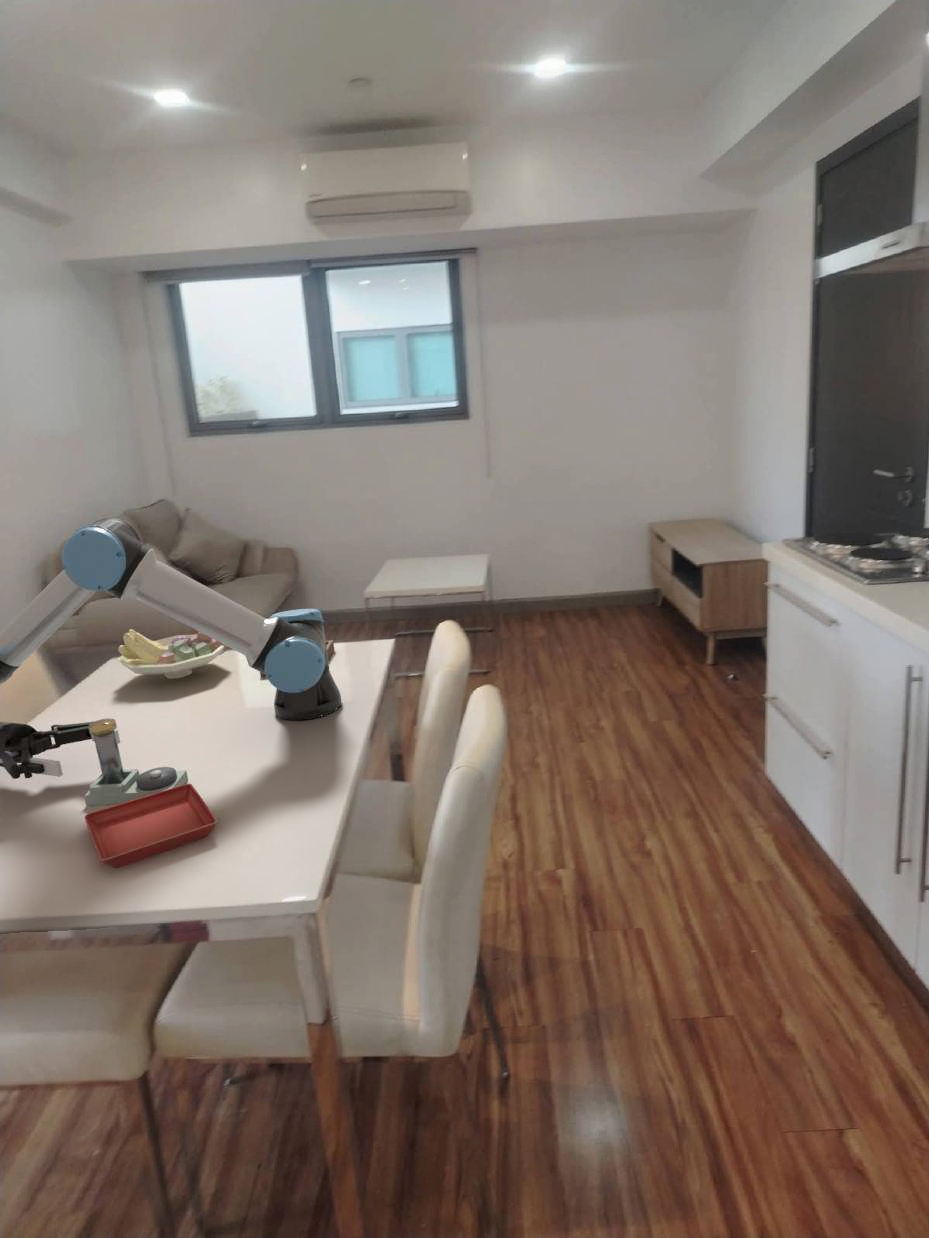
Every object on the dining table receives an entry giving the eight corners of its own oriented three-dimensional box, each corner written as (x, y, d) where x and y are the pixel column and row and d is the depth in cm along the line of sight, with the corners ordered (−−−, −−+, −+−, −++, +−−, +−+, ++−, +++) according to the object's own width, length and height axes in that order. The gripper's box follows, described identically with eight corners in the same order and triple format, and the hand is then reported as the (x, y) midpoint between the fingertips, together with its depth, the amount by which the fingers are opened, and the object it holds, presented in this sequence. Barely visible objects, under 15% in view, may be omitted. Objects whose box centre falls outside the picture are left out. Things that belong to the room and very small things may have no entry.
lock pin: (132, 777, 150) (119, 717, 146) (121, 789, 145) (108, 727, 142) (109, 778, 150) (95, 719, 147) (97, 790, 146) (83, 729, 142)
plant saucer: (193, 797, 145) (190, 780, 144) (222, 838, 130) (218, 820, 129) (87, 831, 136) (83, 814, 135) (104, 880, 121) (100, 861, 120)
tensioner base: (188, 779, 151) (184, 761, 150) (172, 800, 144) (168, 781, 143) (106, 784, 152) (102, 766, 151) (86, 805, 145) (81, 786, 144)
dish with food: (102, 678, 212) (93, 628, 208) (195, 649, 232) (189, 603, 228) (156, 704, 195) (148, 650, 191) (252, 670, 215) (246, 621, 211)
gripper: (65, 733, 167) (142, 742, 159) (-46, 789, 145) (37, 803, 137) (57, 700, 165) (135, 707, 157) (-57, 752, 143) (27, 763, 135)
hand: (89, 752), depth 147 cm, fingers open, 13 cm apart
